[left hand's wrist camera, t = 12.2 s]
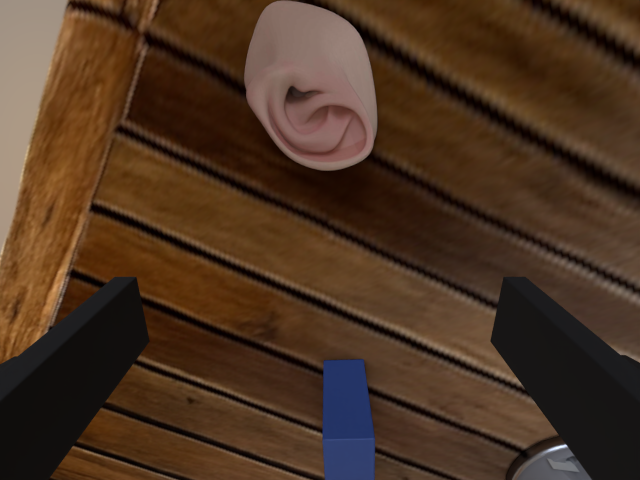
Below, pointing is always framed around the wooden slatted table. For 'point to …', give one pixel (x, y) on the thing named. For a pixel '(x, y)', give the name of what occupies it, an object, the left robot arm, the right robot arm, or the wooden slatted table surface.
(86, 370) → the left robot arm
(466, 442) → the wooden slatted table surface
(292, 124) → the anatomical model
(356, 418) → the brick
